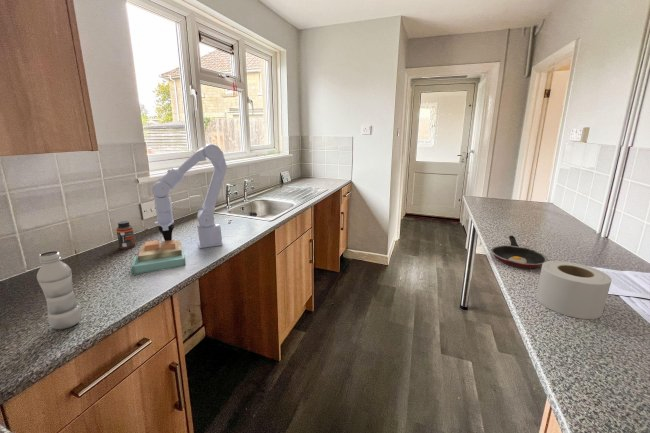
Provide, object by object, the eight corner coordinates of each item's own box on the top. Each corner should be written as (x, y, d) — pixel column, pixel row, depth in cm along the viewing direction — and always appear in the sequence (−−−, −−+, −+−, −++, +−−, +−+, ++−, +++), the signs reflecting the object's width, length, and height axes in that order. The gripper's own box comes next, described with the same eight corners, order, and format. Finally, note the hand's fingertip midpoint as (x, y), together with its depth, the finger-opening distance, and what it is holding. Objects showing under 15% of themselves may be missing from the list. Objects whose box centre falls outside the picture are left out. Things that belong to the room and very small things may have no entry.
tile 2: (175, 244, 128) (174, 239, 128) (175, 248, 124) (174, 243, 123) (162, 245, 126) (161, 241, 125) (161, 249, 122) (161, 245, 121)
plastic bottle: (63, 318, 81) (44, 249, 76) (89, 317, 82) (73, 248, 77) (43, 333, 75) (22, 259, 70) (72, 332, 76) (53, 258, 70)
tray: (184, 255, 122) (183, 248, 122) (185, 265, 113) (184, 258, 113) (135, 263, 115) (134, 256, 114) (132, 274, 106) (131, 266, 105)
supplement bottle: (128, 249, 128) (123, 224, 125) (116, 248, 130) (111, 223, 126) (139, 245, 134) (134, 220, 131) (127, 244, 135) (123, 219, 132)
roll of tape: (528, 287, 98) (535, 257, 95) (586, 295, 94) (594, 263, 91) (545, 314, 84) (554, 279, 81) (614, 324, 79) (625, 288, 77)
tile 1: (159, 244, 127) (159, 240, 127) (159, 248, 123) (158, 244, 123) (146, 246, 125) (145, 242, 125) (145, 250, 121) (144, 246, 120)
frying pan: (491, 266, 114) (492, 257, 113) (486, 239, 142) (488, 232, 141) (551, 276, 106) (553, 266, 105) (534, 246, 134) (536, 238, 133)
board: (181, 245, 134) (180, 239, 133) (181, 255, 122) (181, 250, 122) (142, 250, 127) (141, 245, 127) (139, 262, 116) (138, 256, 115)
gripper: (154, 208, 129) (158, 238, 132) (151, 216, 116) (157, 249, 120) (172, 206, 131) (176, 235, 135) (172, 214, 119) (176, 246, 123)
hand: (168, 242), depth 128 cm, fingers closed
